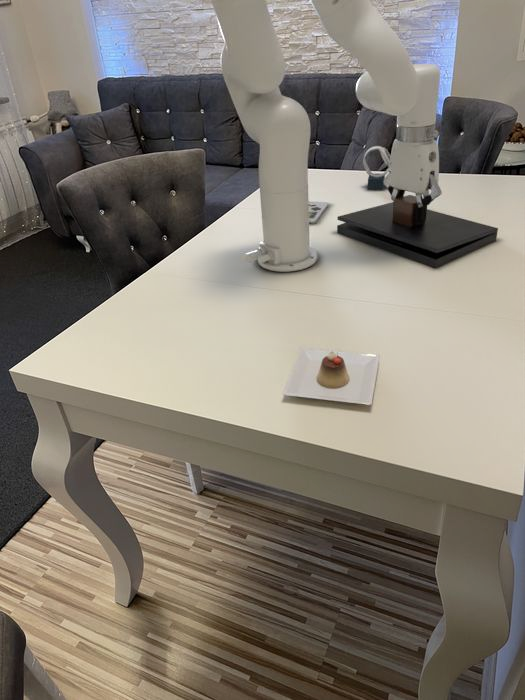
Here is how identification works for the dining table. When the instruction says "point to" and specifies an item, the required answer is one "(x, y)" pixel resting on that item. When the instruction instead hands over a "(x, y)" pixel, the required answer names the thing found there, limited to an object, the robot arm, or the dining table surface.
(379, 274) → the dining table surface
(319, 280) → the dining table surface
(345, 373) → the dessert
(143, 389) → the dining table surface
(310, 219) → the handheld gaming device
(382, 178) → the watch
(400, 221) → the block
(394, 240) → the laptop
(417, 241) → the laptop screen
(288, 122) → the robot arm
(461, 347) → the dining table surface
